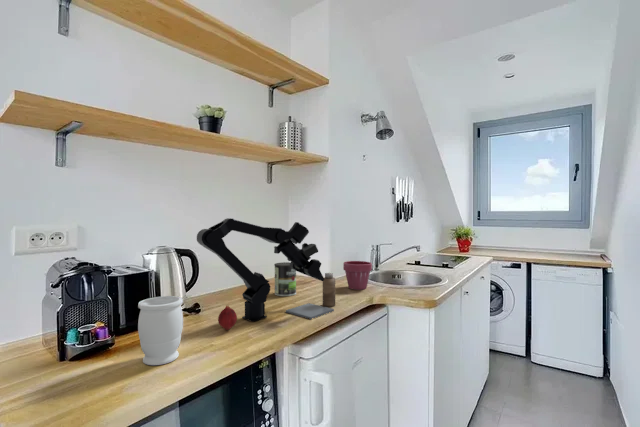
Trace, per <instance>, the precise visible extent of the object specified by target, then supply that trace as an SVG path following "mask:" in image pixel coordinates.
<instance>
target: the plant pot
mask: <svg viewBox="0 0 640 427" xmlns="http://www.w3.org/2000/svg"><path fill="white" fill-rule="evenodd" d="M372 264H373V263H372V262H369V261H363V260H350V261H349V260H348V261H344V262H343V264H342V265H343V271H344V272H345V276H346V283H347V285H348V288H349V289H350V290H357V291H358V290H360V291H361V290H366V289H367V288H368V283H369V278H370V273H371V272H372V270H373V265H372Z"/></svg>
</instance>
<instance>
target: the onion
mask: <svg viewBox="0 0 640 427" xmlns="http://www.w3.org/2000/svg"><path fill="white" fill-rule="evenodd" d="M217 320H218V322H217V323H218V324H219V325H220V327H221V328H223V329H224V330H225V331H229V330H230V329H231V328H233V327H235V325H236V324H237V322H238V321H237V320H238V314H237V313H236V311H235V309H233V308H231V307H230V306H229V305H228V304H226V305H225V308H223V309H222V310H221V311H220V313H219V314H218V318H217Z"/></svg>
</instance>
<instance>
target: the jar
mask: <svg viewBox="0 0 640 427" xmlns="http://www.w3.org/2000/svg"><path fill="white" fill-rule="evenodd" d="M183 299H184V298H183V297H181V296H178V295H177V296H175V295H174V296H173V295H165V296H155V297H151V298H150V297H148V298H146V299H143V300H140V301H139V302H138V305H137V308H138V309H140V311H139V315H138V323H137V331H138V332H137V333H138V338H139V343H140V347H141V351H142V353H143V354H144V356H143V358H142V363H143V364H145V365H148V366H161V365H165V364H166V365H167V364H168V363H171V362H174V361H175V360H176V359H178V357H179V355H180V353H179V351H178V348H179V346H180V343H181V339H182V332H183V327H184V313H183V309H182V306H181V305H182V304H183V301H184V300H183Z"/></svg>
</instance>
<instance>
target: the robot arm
mask: <svg viewBox="0 0 640 427" xmlns="http://www.w3.org/2000/svg"><path fill="white" fill-rule="evenodd" d="M232 231H234V232H237V233H242V234H246V235H251V236H254V237H255V236H256V237H258V238H260V239H262V240H263V241H267V242H268V243H271V244H272V243H273V244H278V245H277V246H273V248H274V250H273V253H274V254H278V255H279V254H280V253H282V255H284V257H286V258H287V259H286V260H287V261H288V262H290V267H291V268H292V269H293V270H295V271H296V272H298V273H300V274H303V275H305V276H307V277H310V278H314V279H316V280H317V281H318V280H319V281H320V282H323V281H324V278H325V276H324V275H323V274H322V272H321V266H322V262H320V260H318V259H311V256H314V255H315V254H317V253H319V249H318V246H317V244H316V243H309V244H308V243H307V242H304V241H303V240H305V238H306V237H307V236H308V234H310V231H309V229H308V228H307V227H305V226H304V225H303V224H301V223H300V222H294V223H293V225H292V227H291V228H289V230H288V231H287V230H285V229H283V228H281V227H279V228H278V227H268V226H267V227H264V226H261V225H257V224H253V223H247V222H245V221H241V220H237V219H235V218H230V217H229V218H227V217H226V218H224V219H223V220H222V221H220V222H218V223H217V224H214V225H213V226H210V227H209V228H203V229H201V230H200V231H198V232H197V233H196V241H197V243H198V244H199V245H200V246H201V247H203V248H205V249H207V250H209V251H210V252H211V253H213V254H215V255H217V257H218V258H219V259H221V261H222V262H224V263H225V265H226V266H228V267H229V268H230V270H231V271H233V272H234V273H235V274H236V275H237V276H238V277H239V278H240V279H241V280H242V281H243V283H244V285H245V287H246V289H245V290H244V292H243V293H242V298H243V300H245V301H244V315H243V316H241V318H242V320H243V319H244V320H245V321H246V320H247V321H249V322H252V323H253V322H257V321H259V320H263V319H265V318H267V317H268V315H265V314H266V313H265V312H266V305H265V304H266V302H267V298H268V295H269V294H270V292H271V285H270V283H269V282H270V280H268V279H266V278H265V276H264V275H263V274H262V273H260V272H256V271H254V272H252V271H251V269H250V268H249V267H248V266H246V265H245V263H243V261H241V260H240V259H239V257H237V256H236V255H235V254H234V253H233V252H232V251H231V250H230V249H229V248H228V247H227V245H226V243H225V241H224V238H225V237H227V235H228V234H229V233H231V232H232ZM302 242H304V243H302ZM301 243H302V245H301V248H300V247H298V246H297V244H299V245H300V244H301Z"/></svg>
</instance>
